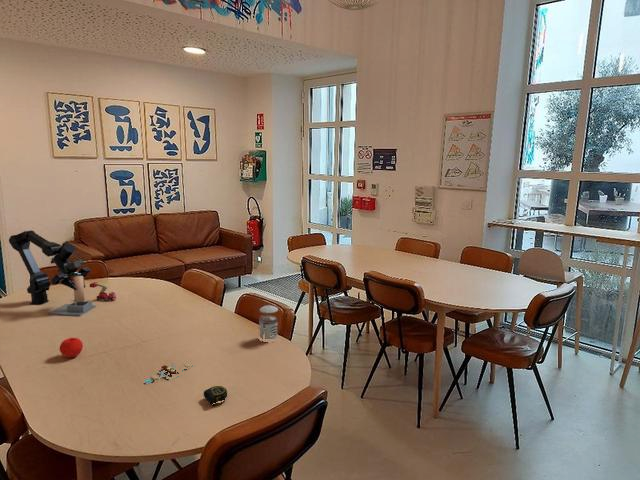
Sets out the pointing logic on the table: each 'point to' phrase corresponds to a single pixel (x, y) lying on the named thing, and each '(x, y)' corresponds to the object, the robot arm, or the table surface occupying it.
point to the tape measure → (215, 394)
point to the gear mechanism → (168, 369)
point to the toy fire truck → (103, 293)
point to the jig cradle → (73, 309)
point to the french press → (268, 319)
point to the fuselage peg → (78, 288)
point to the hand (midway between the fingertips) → (80, 288)
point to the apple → (71, 347)
